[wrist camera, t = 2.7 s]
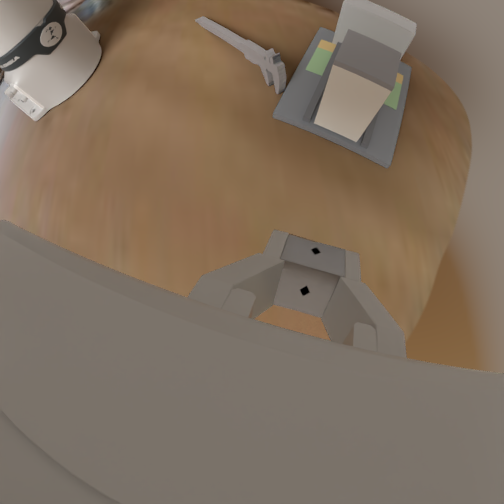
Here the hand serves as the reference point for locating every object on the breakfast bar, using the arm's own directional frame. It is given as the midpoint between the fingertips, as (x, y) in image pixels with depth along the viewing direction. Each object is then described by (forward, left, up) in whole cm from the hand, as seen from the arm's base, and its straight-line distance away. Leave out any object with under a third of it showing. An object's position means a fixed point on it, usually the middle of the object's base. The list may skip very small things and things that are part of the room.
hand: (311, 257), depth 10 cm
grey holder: (0, +24, -18) cm, 30 cm away
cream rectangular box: (0, +18, -17) cm, 25 cm away
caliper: (-16, +24, -19) cm, 34 cm away
